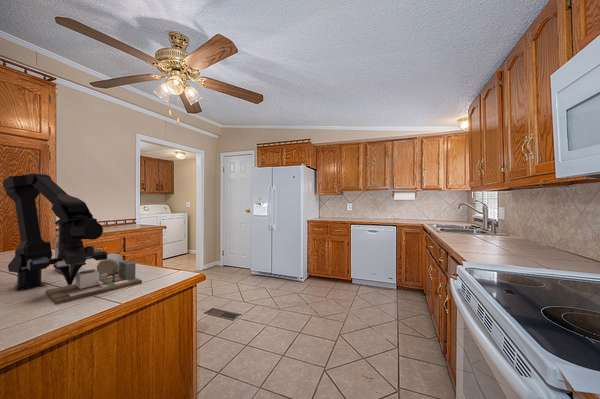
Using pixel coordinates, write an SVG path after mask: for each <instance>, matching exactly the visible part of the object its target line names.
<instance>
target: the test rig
mask: <svg viewBox="0 0 600 399" xmlns="http://www.w3.org/2000/svg"><path fill="white" fill-rule="evenodd" d="M136 266H137V265H136V262H134V261H131V260H128V259H126V260H123V261H119V272H118V274H117V275H115V283H113V282H112V280H113V275H112V276H109V277H108V276H107V277H106V278H101V279H99V281H101V282H103V285H101V286H100V285H95V286H91V287H86V288H82V289H80V288H78V287H77V286H76V285H75V283H73V284H72V285H65V286H60V287H55V288H51V289H45V294H46V296H47V297H48V298H49V299H50V300H51V301H52V303H53V304H54V305H58V304H62V303H67V302H71V301H76V300H79V299H84V298H87V297H91V296H95V295H99V294H104V293H108V292H113V291H117V290H120V289H124V288H128V287H129V288H130V287H132V286H136V285H137V286H138V285H141V284H142V283H143V280H141V279H139V278H137V277H136Z"/></svg>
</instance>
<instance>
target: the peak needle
mask: <svg viewBox="0 0 600 399" xmlns="http://www.w3.org/2000/svg"><path fill="white" fill-rule="evenodd" d="M115 273H116V272H115V269H113V274H112V276H113V280H112V282H113V283H115V276H116V274H115Z"/></svg>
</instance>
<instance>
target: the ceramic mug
mask: <svg viewBox="0 0 600 399" xmlns="http://www.w3.org/2000/svg"><path fill="white" fill-rule="evenodd" d="M119 261H124V258H123V257H122V256H121V255H120V254H119V253H114V252H113V253H109V254H108V253H107V259H104V260H99V262H98V263H97V265H96V270H97V271H99V274H104V273H107V276H110V275H113V269H115V273H117V272H118V273H119Z"/></svg>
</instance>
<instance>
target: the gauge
mask: <svg viewBox="0 0 600 399" xmlns="http://www.w3.org/2000/svg"><path fill="white" fill-rule="evenodd" d="M103 278H108V275H107V273H104V274H100V273H99V271H97V269H95V268H92V269H84V270H80V271H79V270H78V272H77V274H76V276H75V278H74V284H75V285H76V286H77V287H78V288H80V289H82V288H86V287H91V286H95V285H100V286H101V285H103V282H101V281H99V279H103Z"/></svg>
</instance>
